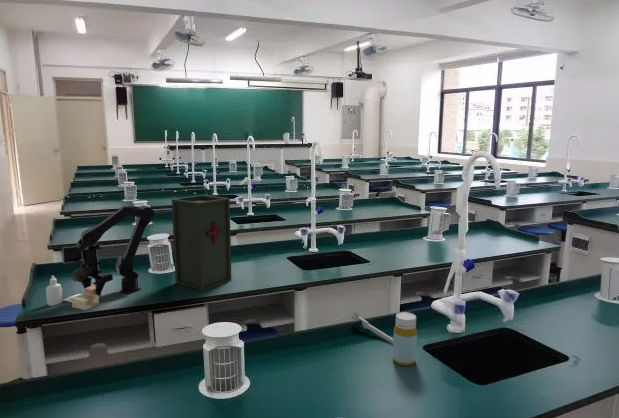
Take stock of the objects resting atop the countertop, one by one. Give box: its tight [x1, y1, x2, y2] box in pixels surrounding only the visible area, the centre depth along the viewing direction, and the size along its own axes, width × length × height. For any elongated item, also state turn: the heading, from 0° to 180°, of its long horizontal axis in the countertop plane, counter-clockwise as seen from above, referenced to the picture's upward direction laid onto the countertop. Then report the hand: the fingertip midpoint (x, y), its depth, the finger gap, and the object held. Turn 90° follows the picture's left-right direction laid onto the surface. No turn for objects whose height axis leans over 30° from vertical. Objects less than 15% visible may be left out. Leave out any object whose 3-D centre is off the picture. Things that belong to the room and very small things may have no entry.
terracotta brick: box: [83, 284, 102, 298], centre depth 196 cm, size 4×4×4 cm
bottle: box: [392, 311, 418, 367], centre depth 143 cm, size 7×7×15 cm
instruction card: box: [63, 293, 83, 303], centre depth 196 cm, size 8×6×1 cm
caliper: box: [350, 311, 394, 345], centre depth 162 cm, size 20×1×6 cm, turn 43°
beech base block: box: [71, 292, 100, 311], centre depth 187 cm, size 7×7×4 cm
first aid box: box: [171, 194, 232, 292], centre depth 214 cm, size 18×18×40 cm
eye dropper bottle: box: [45, 275, 64, 307], centre depth 188 cm, size 4×6×12 cm
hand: (93, 295), depth 197 cm, fingers open, 6 cm apart
